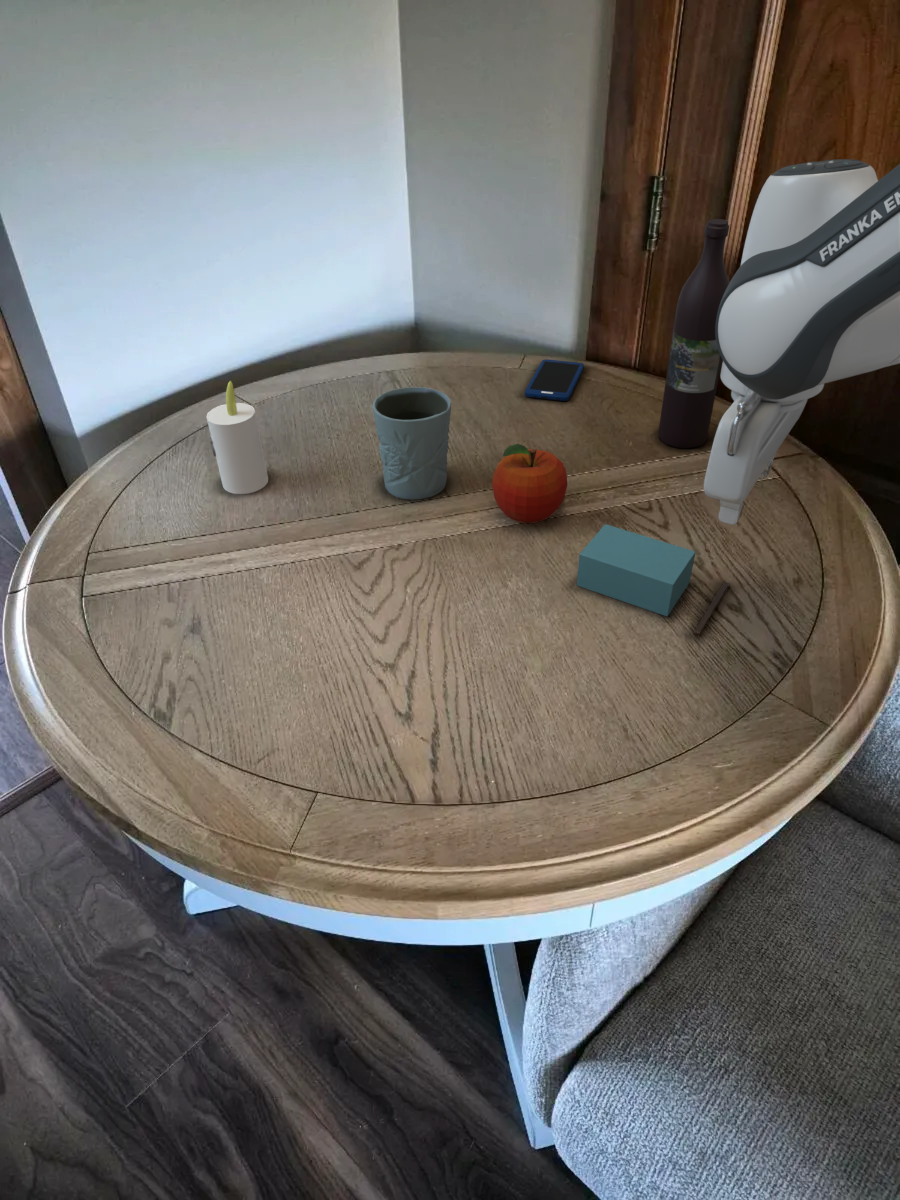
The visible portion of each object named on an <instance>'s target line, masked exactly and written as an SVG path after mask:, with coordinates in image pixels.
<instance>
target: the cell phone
mask: <svg viewBox="0 0 900 1200" xmlns="http://www.w3.org/2000/svg"><path fill="white" fill-rule="evenodd" d="M584 368H585V364H584V363H583V362H578V361H577V362H576V361H566V360H559V359H558V360H557V359H543V360H541V362H540V364H539V365H538V367H537V369H536V370H535V373H534V375H532V377H531V379H530V381H529V383H528V384H527V387H526V388H525V391H524V396H525V397H527V398H534V399H542V400H543V399H544V400H553V401H562V402H568V401H569V400H570V398H571V396H572V394H573V392H574V390H575V388H576V386H577V383H578V382H579V379H580V377H581V375H582V373H583V371H584Z"/></svg>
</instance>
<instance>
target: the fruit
mask: <svg viewBox="0 0 900 1200" xmlns="http://www.w3.org/2000/svg"><path fill="white" fill-rule="evenodd" d="M502 456H503V458H502V459H500V461H498V463H497V466H496V467H495V469H494V472H493V474H492V478H491V485H492V491H493V492H492V494H493V498H494V500H495V503H496V505H497V506H498V508H499V510H500V511H501V512H502V513H503V515H504V516H506V517H507V518H509V519H510V520H512V521H515V522H518V523H523V524H524V523H525V524H530V523H533V524H534V523H539V522H542V521H545V520H547V519H549V518H550V517H551V516H552V515H554V514H555V513H556V511H558V510H559V508H560V507H561V505H562V503H563V502H564V500H565V496H566V493H567V489H568V475H567V469H566V466H565V465H564V463H563V462H562V461H561V460H560V459H559V458H558V456H556V455H555V454H554V453H552V452H550V451H548V450H543V449H538V448H537V449H535V448H527V447H526V446H525V445H522V444H520V443H515V444H512V445H508V447H506V449H504V452H503V454H502Z"/></svg>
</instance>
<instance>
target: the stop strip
mask: <svg viewBox="0 0 900 1200" xmlns="http://www.w3.org/2000/svg"><path fill="white" fill-rule="evenodd" d="M729 586H730V582H726V581H724V582H723V583H722V584H721V586H720V588H719V590H718V591H717V593H716V595H715V596H714V598H713V599H712V601H711V602H710V604H709V606H708V608H707V609H706V611H705V612H704V614H703V615H702V618H701V619H700V620H699V622H698V624H697V625H696V627H695V629H694V631H693V635H692V636H694V637H697V638H699V637H700V635H701V633H702V632H703V630H704V628H705V627H706V625H707V623H708V622H709V620H710V618H711V617H712V615H713V613H714V612H715V611H716V609H717V607H718V605H719V603H720V602H721V600H722V599H723V597H724V595H725V594H726V592H727V590H728V589H729Z"/></svg>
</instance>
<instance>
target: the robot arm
mask: <svg viewBox="0 0 900 1200" xmlns="http://www.w3.org/2000/svg"><path fill="white" fill-rule="evenodd" d="M729 282H730V283H729V285H728V287H727V289H726V291H725V293H724V295H723V298H722V300H721V303H720V306H719V309H718V313H717V318H716V325H715V336H716V343H717V347H718V351H719V353H720V356H721V358H722V362H721V368H720V373H719V378H720V380H721V382H722V384H723V385H724V386H725V387H727V388H728V389H729V390H731V391H730V397H731V399H732V400H733V402H732V404H730V406H729V407H728V408H727V410H726V411H725V412H724V414H723V415H722V416H721V419H720V420H719V422H718V425H717V428H716V431H715V435H714V438H713V442H712V446H711V450H710V454H709V459H708V462H707V467H706V471H705V476H704V480H703V492H704V494H705V496H706V497H708V498H711V499H714V500H717V501H719V505H720V507H719V511H718V521H720V522H721V523H724V524H727V525H731V526H735V525H736V524H737V523H738V521H739V520H740V519H741V517H742V514H743V510H744V506H745V500H746V499H747V497H748V496H749V494H750V493H751V491H752V490H753V488H754V486H755V485H756V484H757V482H758V481H759V480H765V479H766V478H767V477H768V476H769V474H770V472H771V471H772V466H773V462H774V459H775V457H776V455H777V452H778V450H779V449H780V447H781V446H782V444H783V443H784V441H785V439H787V436H788V435H789V434H790V432H791V430H792V429H793V428H794V426H795V425H796V423H797V422H798V420H799V419H800V417H801V415H802V413H803V412H804V410H805V407H806V404H807V403H808V400H809V399H811V398H814V397H815V396H818V395H819V394H820V393H821V392H822V391H823V389H824V387H825V384H828V383H832V382H836V381H839V380H843V379H847V378H851V377H854V376H855V377H856V376H860V375H863V374H867V373H871V372H875V371H877V370H880V369H884V368H887V367H891V366H895V365H899V364H900V163H899V164H898V165H896V166H894V168H893V169H891V170H890V171H889V172H887V173H886V174H885V175H884V176H882V177H881V178H880V179H879V178H878V176H877V173H876V171H875V169H874V167H873V166H872V165H870V164H869V163H866V162H864V161H862V160H858V159H848V158H840V159H838V158H837V159H826V160H821V161H808V162H803V163H796V164H790V165H786V166H784V167H782V168H779V169H777V170H776V171H775V172H773V173H771V174H770V175H769V176H768V178H767V179H766V181H765V183H764V184H763V186H762V188H761V190H760V192H759V194H758V198H757V199H756V202H755V205H754V208H753V211H752V215H751V218H750V221H749V224H748V229H747V232H746V237H745V241H744V245H743V251H742V256H741V262H740V266H739V268H738V269H737V270H736V271H735V273H734V275H733V276H732V278H731V279H730V280H729Z"/></svg>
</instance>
